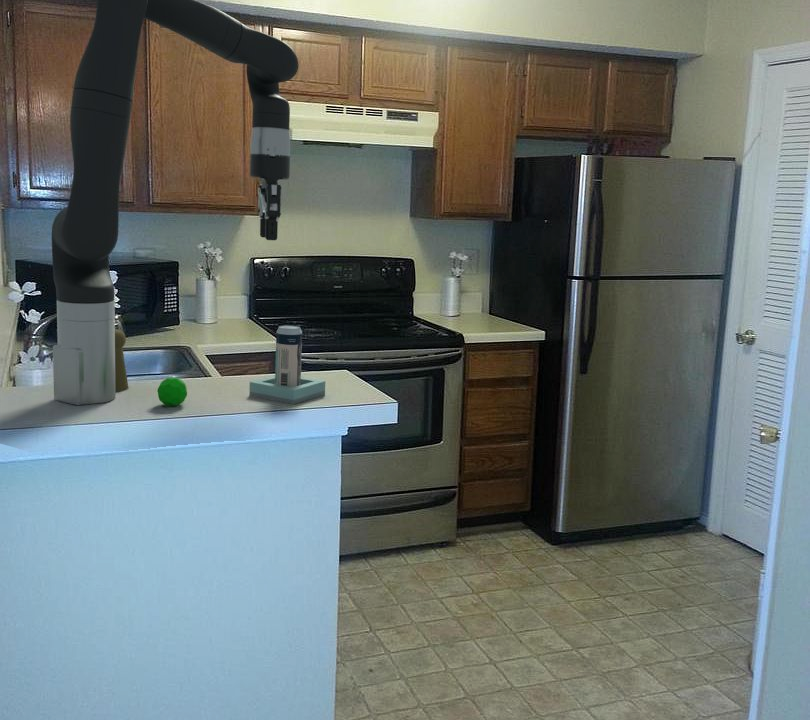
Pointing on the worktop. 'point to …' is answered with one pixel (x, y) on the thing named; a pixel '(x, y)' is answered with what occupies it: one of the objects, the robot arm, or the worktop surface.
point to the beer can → (288, 356)
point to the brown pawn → (120, 362)
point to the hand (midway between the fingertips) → (268, 238)
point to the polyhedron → (172, 391)
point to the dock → (287, 390)
